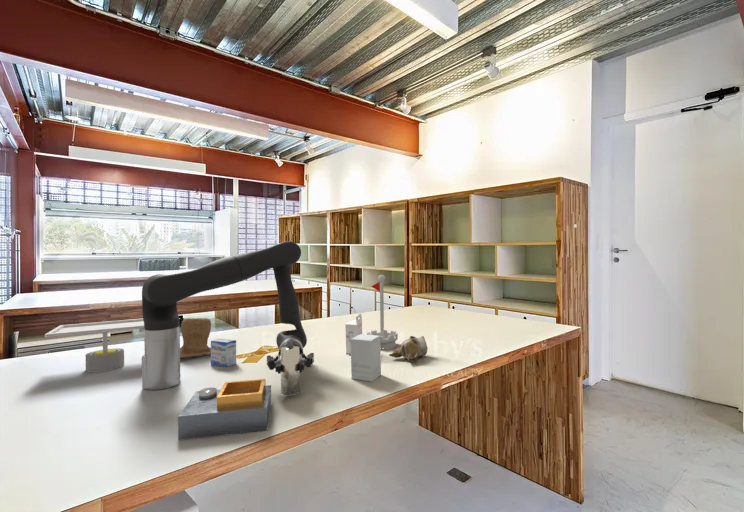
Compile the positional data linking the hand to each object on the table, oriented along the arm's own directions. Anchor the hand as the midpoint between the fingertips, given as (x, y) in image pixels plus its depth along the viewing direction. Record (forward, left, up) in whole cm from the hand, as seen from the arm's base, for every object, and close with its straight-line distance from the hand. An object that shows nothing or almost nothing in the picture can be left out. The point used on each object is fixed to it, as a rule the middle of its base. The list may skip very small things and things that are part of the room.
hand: (290, 369), depth 95 cm
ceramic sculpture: (+43, +28, -9) cm, 52 cm away
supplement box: (+23, +13, -8) cm, 28 cm away
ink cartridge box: (+24, +43, -8) cm, 50 cm away
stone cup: (-38, +52, -8) cm, 65 cm away
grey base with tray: (-14, -9, -8) cm, 18 cm away
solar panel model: (-64, +44, -8) cm, 78 cm away
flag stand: (+37, +49, -8) cm, 62 cm away
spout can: (0, +3, -7) cm, 7 cm away
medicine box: (-24, +38, -8) cm, 45 cm away
